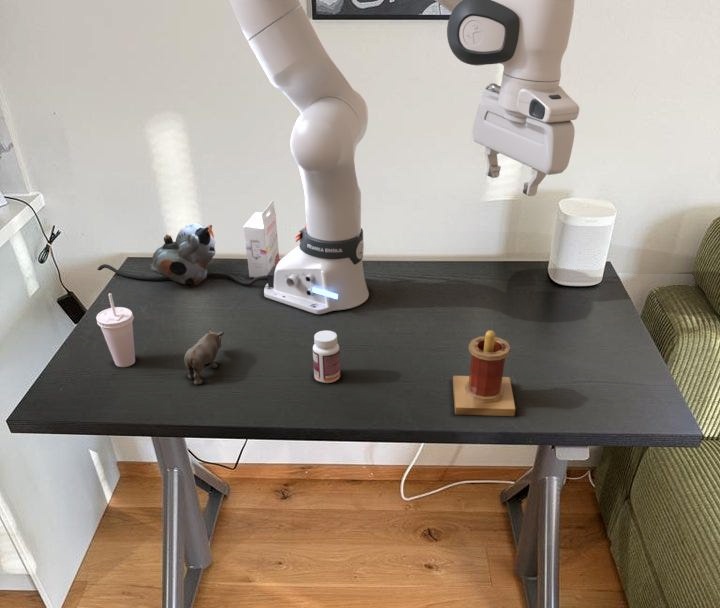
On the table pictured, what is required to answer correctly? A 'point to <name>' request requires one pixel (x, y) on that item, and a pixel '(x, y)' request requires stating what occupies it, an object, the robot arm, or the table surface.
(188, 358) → the rhino figurine
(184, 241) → the lucky cat figurine
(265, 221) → the ink cartridge box
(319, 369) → the pill bottle
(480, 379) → the spool
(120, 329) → the smoothie
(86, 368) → the table surface
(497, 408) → the peg stand
